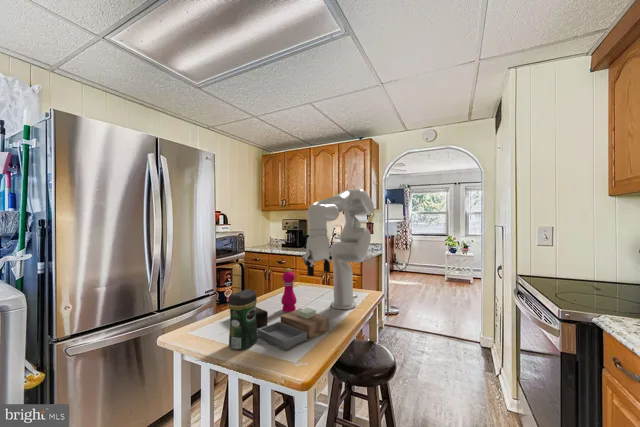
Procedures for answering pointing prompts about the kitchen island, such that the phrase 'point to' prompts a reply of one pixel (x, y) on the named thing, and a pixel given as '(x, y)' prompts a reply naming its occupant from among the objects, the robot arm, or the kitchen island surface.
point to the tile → (307, 313)
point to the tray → (282, 335)
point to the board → (307, 323)
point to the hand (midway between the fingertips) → (319, 273)
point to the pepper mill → (288, 292)
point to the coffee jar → (242, 319)
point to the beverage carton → (261, 318)
